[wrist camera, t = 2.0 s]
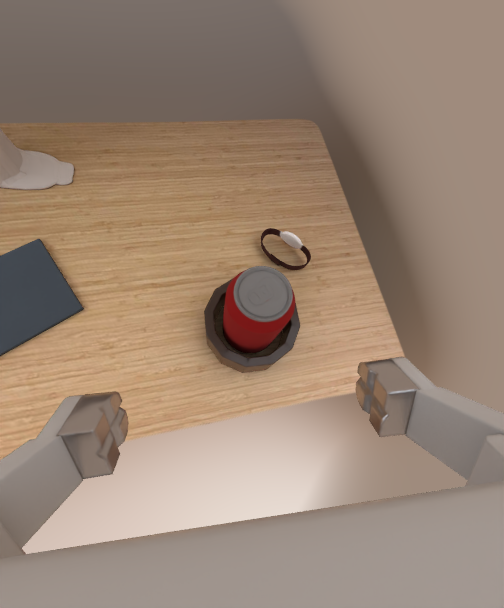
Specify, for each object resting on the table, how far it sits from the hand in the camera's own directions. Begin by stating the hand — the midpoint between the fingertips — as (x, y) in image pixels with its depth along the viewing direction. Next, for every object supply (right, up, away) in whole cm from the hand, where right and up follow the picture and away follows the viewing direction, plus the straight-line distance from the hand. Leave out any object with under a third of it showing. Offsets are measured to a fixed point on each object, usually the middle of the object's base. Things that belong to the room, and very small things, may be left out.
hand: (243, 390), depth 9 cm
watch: (+5, +10, +31) cm, 33 cm away
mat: (-29, +4, +24) cm, 38 cm away
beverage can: (0, 0, +26) cm, 26 cm away
